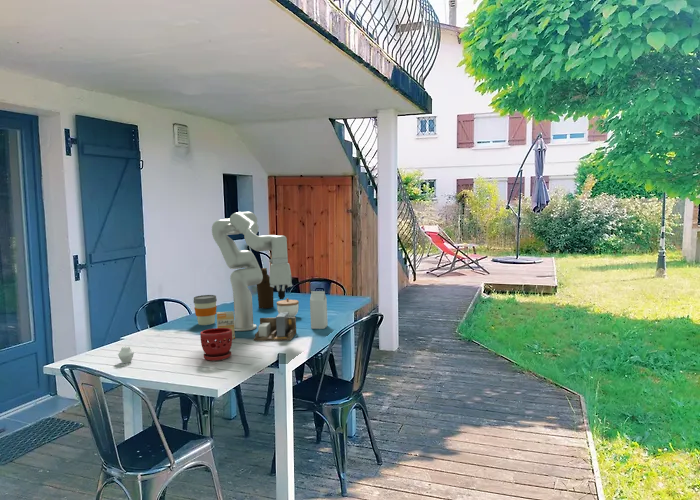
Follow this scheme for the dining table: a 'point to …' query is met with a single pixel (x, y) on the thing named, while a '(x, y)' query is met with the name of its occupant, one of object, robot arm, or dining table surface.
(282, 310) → the lidded bowl
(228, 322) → the supplement box
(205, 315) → the reusable coffee cup
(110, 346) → the dining table surface
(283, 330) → the panel
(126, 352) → the white faceted vase
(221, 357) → the plant pot
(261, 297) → the olive oil
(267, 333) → the rack
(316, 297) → the milk carton
